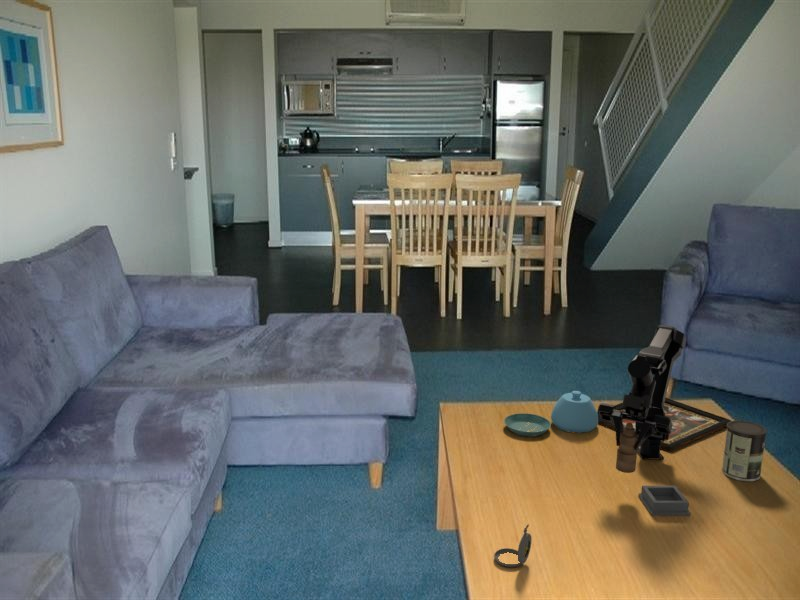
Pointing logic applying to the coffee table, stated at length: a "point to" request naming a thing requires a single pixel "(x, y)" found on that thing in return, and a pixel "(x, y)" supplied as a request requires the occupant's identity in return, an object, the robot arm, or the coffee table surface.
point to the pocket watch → (522, 551)
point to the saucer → (522, 419)
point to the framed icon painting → (681, 423)
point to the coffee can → (744, 450)
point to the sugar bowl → (575, 413)
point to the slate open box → (664, 500)
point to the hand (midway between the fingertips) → (626, 447)
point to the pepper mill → (627, 450)
